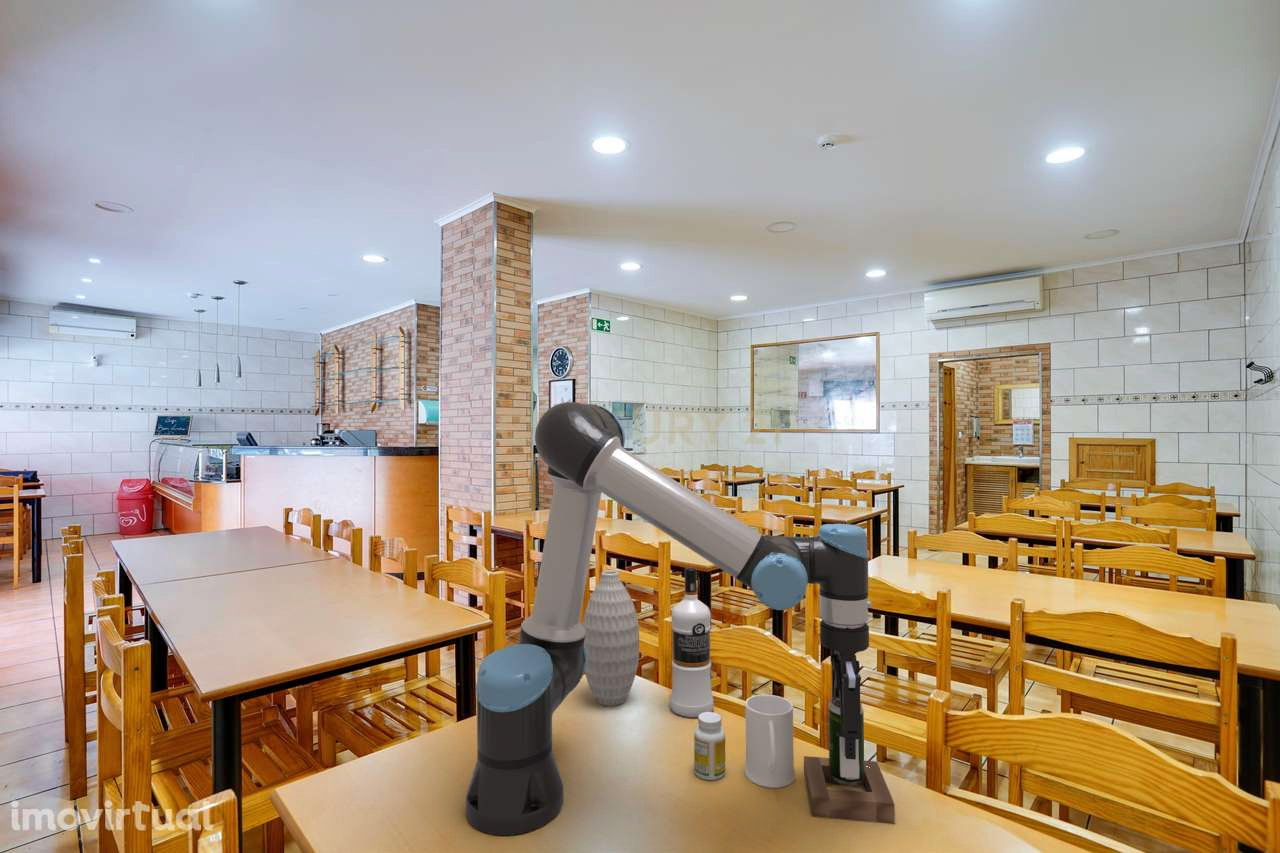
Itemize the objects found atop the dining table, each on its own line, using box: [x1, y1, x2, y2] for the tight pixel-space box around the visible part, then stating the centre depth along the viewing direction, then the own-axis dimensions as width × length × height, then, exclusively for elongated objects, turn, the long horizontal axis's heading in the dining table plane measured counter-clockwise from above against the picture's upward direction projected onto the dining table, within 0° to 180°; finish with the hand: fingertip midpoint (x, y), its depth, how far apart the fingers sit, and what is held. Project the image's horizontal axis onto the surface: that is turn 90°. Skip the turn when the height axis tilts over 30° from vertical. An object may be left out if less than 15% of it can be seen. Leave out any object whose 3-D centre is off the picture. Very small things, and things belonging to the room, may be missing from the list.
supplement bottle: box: [693, 711, 726, 781], centre depth 106 cm, size 5×5×10 cm
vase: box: [582, 569, 640, 707], centre depth 136 cm, size 13×13×28 cm
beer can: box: [827, 696, 865, 787], centre depth 99 cm, size 5×5×12 cm
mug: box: [744, 694, 796, 789], centre depth 104 cm, size 12×8×12 cm
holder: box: [803, 755, 896, 825], centre depth 99 cm, size 12×12×3 cm
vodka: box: [669, 567, 715, 719], centre depth 131 cm, size 9×9×30 cm
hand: (846, 765), depth 99 cm, fingers closed on beer can, 5 cm apart
